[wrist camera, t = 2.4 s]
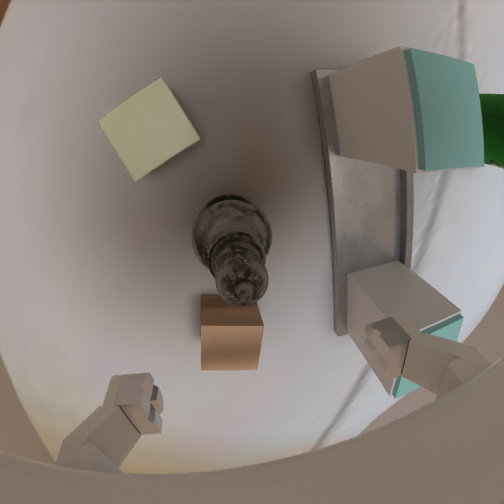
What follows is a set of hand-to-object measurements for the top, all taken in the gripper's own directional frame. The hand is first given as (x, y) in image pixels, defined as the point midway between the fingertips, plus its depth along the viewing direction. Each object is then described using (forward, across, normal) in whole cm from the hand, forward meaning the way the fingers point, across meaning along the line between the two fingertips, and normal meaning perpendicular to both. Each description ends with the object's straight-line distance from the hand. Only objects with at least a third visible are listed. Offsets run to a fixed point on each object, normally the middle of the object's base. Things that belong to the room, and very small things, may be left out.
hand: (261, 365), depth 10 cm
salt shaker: (+16, 0, 0) cm, 16 cm away
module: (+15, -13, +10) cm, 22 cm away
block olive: (+16, +4, -10) cm, 19 cm away
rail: (+16, -13, 0) cm, 21 cm away
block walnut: (+16, +2, +8) cm, 19 cm away
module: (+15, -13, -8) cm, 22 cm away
